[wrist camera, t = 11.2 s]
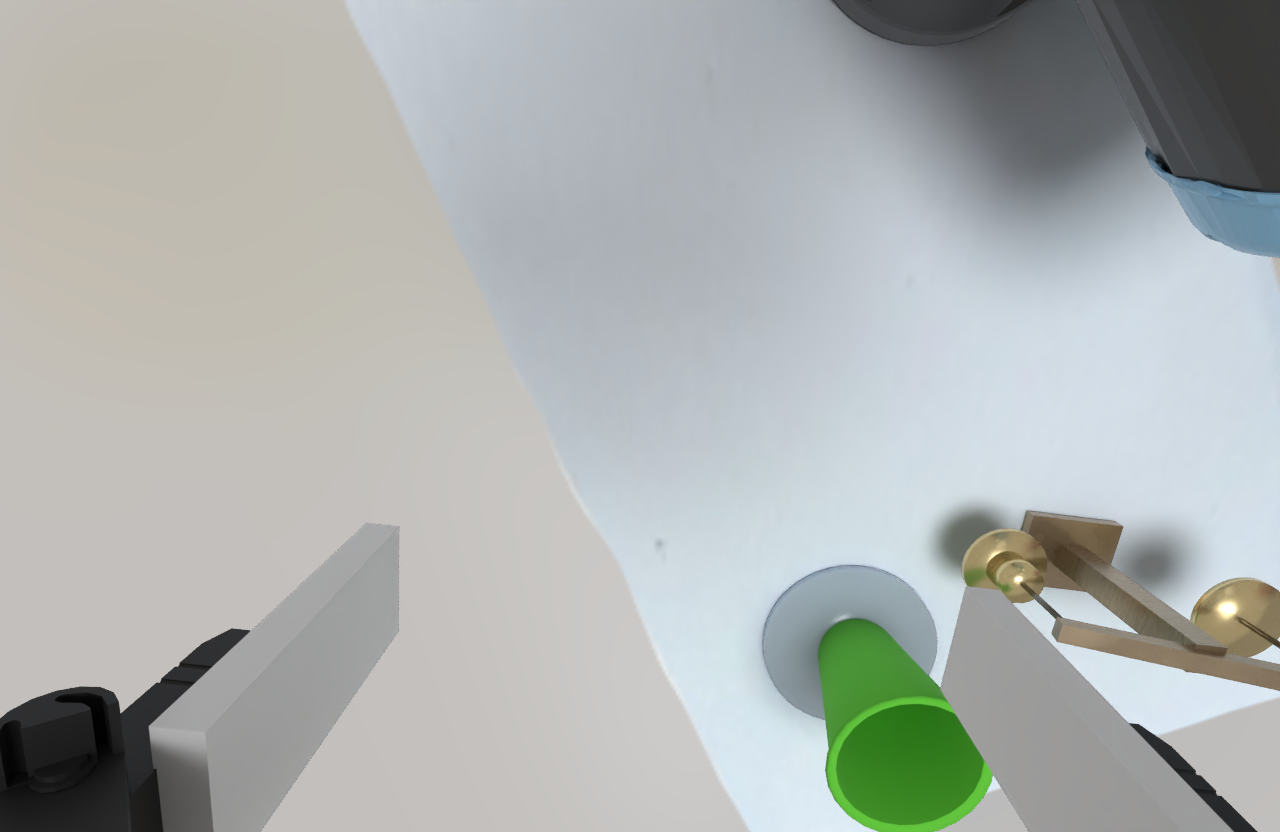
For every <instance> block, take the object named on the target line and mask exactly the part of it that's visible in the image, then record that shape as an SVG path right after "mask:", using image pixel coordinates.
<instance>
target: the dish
mask: <svg viewBox="0 0 1280 832" xmlns="http://www.w3.org/2000/svg"><path fill="white" fill-rule="evenodd" d="M849 619H862V620H867V621H870V622H872V623H875V624H877V625H879V626H880V627H882V628H883V629H885V630H886V631H887V633H888V634H889V635H890V636H891V637H892V638H893V639H894V640H895V641H896V642H897V643H898V644H899V645H900V646H901V647H902V648H903V649H904V650H905V651H906V652H907V654H908V655H909V656H910V657H911V658H912V659H913V660H914V661H915V662H916V663H917V664H918V665H919V666H920V667H921V668H922V669H923V670H924V671H925V672H926V673H927V675H928V676H929V674H930V672H931V670H932V667H933V665H934V662H935V658H936V652H937V633H936V628H935V624H934V621H933V619H932V616H931V614H930V612H929V610H928V609H927V607H926V606H925V604H924V603H923V601H922V600H921V599H920V597H919V596H918V595H917V594H916V593H915V591H914V590H913V589H912V588H911V587H910V586H908V585H907V584H906V583H905V582H904V581H902V580H900V579H899V578H897V577H896V576H894V575H892V574H890V573H888V572H885V571H882V570H879V569H876V568H871V567H866V566H855V565H850V566H838V567H832V568H828V569H825V570H821V571H818V572H816V573H813V574H811V575H809V576H807V577H805V578H804V579H802V580H800V581H798V582H797V583H796V584H794V585H793V586H792V587H790V588H789V589H788V590H787V591H786V592H785V593H784V594H783V595H782V596H781V598H780V599H779V600H778V601H777V603H776V604H775V606H774V607H773V609H772V611H771V612H770V615H769V617H768V619H767V622H766V625H765V629H764V635H763V652H764V657H765V662H766V666H767V669H768V672H769V675H770V678H771V680H772V681H773V683H774V685H775V687H776V688H777V690H778V691H779V692H780V694H781V695H782V696H783V697H784V698H785V699H786V700H787V701H788V702H790V703H791V704H792V705H793V706H795V707H796V708H798V709H799V710H801V711H803V712H805V713H807V714H809V715H811V716H814V717H817V718H820V719H823V720H825V712H824V704H823V696H822V687H821V679H820V670H819V662H818V649H819V646H820V643H821V641H822V638H823V636H824V635H825V634H826V632H827V631H828V630H829V629H830V628H831V627H833V626H834V625H836V624H838V623H840V622H842V621H845V620H849Z"/></svg>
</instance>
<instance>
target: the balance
mask: <svg viewBox="0 0 1280 832" xmlns="http://www.w3.org/2000/svg"><path fill="white" fill-rule="evenodd" d="M1122 529H1123V526H1122V525H1120V524H1119V523H1117V522H1115V521H1107V520H1099V519H1091V518H1083V517H1075V516H1066V515H1058V514H1050V513H1042V512H1034V511H1027V513H1026V517H1025V520H1024V523H1023V527H1022V530H1017V529H1011V528H1002V529H996V530H993V531H990V532H988V533H985V534H984V535H982V536H980V537H979V538H977V539H976V540H975V541H974V542H973V543H972V544H971V545H970V546H969V548H968V549H967V551H966V553H965V555H964V557H963V560H962V568H961V570H962V577H963V580H964V582H965V584H966V586H968V587H977V588H986V589H996V590H1000V591H1001V592H1002V593H1003V594H1004V595H1005V596H1006V597H1007V598H1008V599H1009V601H1010V602H1011V603H1025V602H1029V601H1031V600H1033V599H1035V600H1036V601H1037V602H1038V603H1039V604H1040V605H1042V606H1043V607H1044V608H1045V609H1046V610H1047V611H1048V612H1049V613H1050V614H1051V615H1052V616H1053V617H1054V618H1055V619H1056V621H1055V624H1054V627H1053V630H1052V635H1053V636H1054V638H1055V639H1056V641H1057V642H1061V643H1065V644H1070V645H1074V646H1079V647H1083V648H1088V649H1092V650H1097V651H1101V652H1106V653H1111V654H1115V655H1120V656H1124V657H1129V658H1133V659H1138V660H1142V661H1147V662H1151V663H1156V664H1160V665H1165V666H1170V667H1174V668H1179V669H1183V670H1184V671H1186V672H1192V673H1200V674H1206V675H1210V676H1215V677H1219V678H1224V679H1228V680H1233V681H1238V682H1242V683H1247V684H1251V685H1256V686H1260V687H1265V688H1269V689H1274V690H1278V691H1280V664H1276V663H1271V662H1266V661H1262V660H1257V659H1252V658H1248V657H1251V656H1254V655H1257V654H1259V653H1261V652H1262V651H1264V650H1266V649H1267V648H1269V647H1270V646H1271V645H1272V644H1273V645H1275V646H1276V647H1278V648H1280V642H1279V641H1278V640H1277V639H1278V638H1279V637H1280V592H1279V591H1278V590H1277V589H1275V588H1274V587H1272V586H1270V585H1268V584H1267V583H1265V582H1263V581H1261V580H1258V579H1254V578H1245V577H1244V578H1234V579H1230V580H1226V581H1224V582H1221V583H1219V584H1217V585H1215V586H1214V587H1212V588H1211V589H1209V590H1208V591H1207V592H1206V593H1204V594H1203V596H1202V597H1201V598H1200V599H1199V600H1198V601H1197V603H1196V605H1195V606H1194V609H1193V611H1192V614H1191V619H1190V621H1189V620H1188V619H1186V618H1185V617H1183V616H1182V615H1181V614H1179V613H1178V612H1176V611H1175V610H1174V609H1172V608H1171V607H1169V606H1168V605H1166V604H1165V603H1164V602H1162V601H1161V600H1159V599H1158V598H1157V597H1155V596H1154V595H1152V594H1151V593H1149V592H1148V591H1147V590H1145V589H1144V588H1142V587H1141V586H1140V585H1138V584H1137V583H1135V582H1134V581H1132V580H1131V579H1130V578H1128V577H1127V576H1125V575H1124V574H1123V573H1121V572H1120V571H1118V570H1117V569H1115V568H1114V567H1113V566H1111V562H1112V559H1113V556H1114V553H1115V550H1116V547H1117V544H1118V541H1119V538H1120V535H1121V532H1122ZM1043 587H1051V588H1060V589H1068V590H1076V591H1084V592H1088V593H1089V594H1090V595H1091V596H1093V597H1094V598H1095V599H1096V600H1098V601H1099V602H1100V603H1101V604H1103V605H1104V606H1105V607H1106V608H1108V609H1109V610H1110V611H1111V612H1112V613H1114V614H1115V615H1116V616H1117V617H1119V618H1120V619H1121V620H1122V621H1124V622H1125V623H1126V624H1127V625H1129V626H1130V627H1131V628H1132V629H1134V630H1135V631H1136V632H1137V633H1138V634H1135V633H1131V632H1126V631H1121V630H1116V629H1112V628H1107V627H1102V626H1098V625H1093V624H1088V623H1084V622H1079V621H1074V620H1070V619H1065V618H1063V617H1062V616H1060V615H1059V614H1058V613H1057V612H1056V611H1055V610H1054V609H1053V608H1052V607H1051V606H1050V605H1048V604H1047V603H1046V602H1045V601H1044V600H1043V599H1042V598H1041V597H1040V596H1039V594H1040V593H1041V591H1042V590H1043Z"/></svg>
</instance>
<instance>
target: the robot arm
mask: <svg viewBox="0 0 1280 832" xmlns="http://www.w3.org/2000/svg"><path fill="white" fill-rule="evenodd" d="M834 1H835V3H836V4H837V5H838V6H839V7H840V8H841V9H842V10H843V11H844V12H845V13H846V14H847V15H848V16H849V17H850V18H851V19H853V20H854V21H855V22H856V23H858V24H859V25H861V26H862V27H864V28H865V29H867V30H869V31H871V32H872V33H874V34H877V35H879V36H881V37H883V38H886V39H889V40H892V41H896V42H900V43H905V44H911V45H942V44H948V43H953V42H957V41H961V40H965V39H968V38H971V37H973V36H976V35H978V34H981V33H983V32H985V31H987V30H989V29H991V28H993V27H994V26H996V25H998V24H999V23H1001V22H1003V21H1004V20H1005V19H1007V18H1008V17H1010V16H1011V15H1013V14H1014V13H1016V12H1017V11H1019V10H1020V9H1022V8H1023V7H1025V6H1026V5H1028V4H1029V3H1030V2H1031V1H1033V0H834ZM1075 1H1076V3H1077V5H1078V7H1079V9H1080V11H1081V13H1082V15H1083V17H1084V19H1085V21H1086V23H1087V25H1088V27H1089V29H1090V31H1091V33H1092V35H1093V37H1094V39H1095V41H1096V43H1097V45H1098V47H1099V49H1100V51H1101V53H1102V56H1103V58H1104V60H1105V62H1106V64H1107V66H1108V68H1109V70H1110V72H1111V74H1112V76H1113V78H1114V80H1115V82H1116V84H1117V86H1118V88H1119V90H1120V92H1121V94H1122V96H1123V98H1124V100H1125V102H1126V104H1127V106H1128V108H1129V110H1130V112H1131V114H1132V116H1133V119H1134V121H1135V123H1136V125H1137V127H1138V129H1139V131H1140V133H1141V135H1142V137H1143V139H1144V141H1145V143H1146V145H1147V147H1146V152H1145V154H1146V157H1147V159H1148V161H1149V163H1150V166H1151V167H1152V168H1153V170H1154V171H1155V172H1156V173H1157V174H1158V175H1159V176H1161V177H1162V178H1163V179H1165V180H1166V181H1167V182H1168V183H1169V185H1170V187H1171V188H1172V190H1173V192H1174V194H1175V195H1176V197H1177V199H1178V201H1179V202H1180V204H1181V206H1182V208H1183V209H1184V211H1185V213H1186V215H1187V216H1188V218H1189V220H1190V221H1191V222H1192V224H1193V225H1194V226H1195V227H1196V228H1197V229H1198V230H1199V231H1200V232H1201V233H1202V234H1203V235H1204V236H1206V237H1208V238H1209V239H1212V240H1215V241H1218V242H1222V243H1223V244H1224V245H1226V246H1229V247H1231V248H1233V249H1234V250H1237V251H1240V252H1244V253H1249V254H1254V255H1260V256H1268V257H1276V258H1280V0H1075ZM398 631H399V526H391V525H382V524H373V523H366V524H365V525H364V526H363V527H362V528H360V529H359V530H358V532H356V533H355V534H354V535H353V536H352V537H351V538H350V539H349V540H348V541H347V542H345V543H344V544H343V545H342V546H341V547H340V548H339V549H338V550H337V551H336V552H335V553H334V554H333V555H332V556H330V557H329V558H328V560H326V561H325V562H324V563H323V564H322V565H321V566H320V567H319V568H318V569H317V570H315V572H314V573H312V574H311V575H310V576H309V577H308V578H307V579H306V580H305V581H304V582H303V583H302V584H301V585H299V586H298V587H297V588H296V589H295V590H294V591H293V592H292V593H291V594H290V595H289V596H288V597H287V598H286V599H284V601H282V602H281V603H280V604H279V605H278V606H277V607H276V608H275V609H274V610H273V611H272V612H271V613H270V614H268V615H267V616H266V617H265V618H264V619H263V620H262V621H261V622H260V623H259V624H258V625H257V626H256V627H255V628H254V629H252V630H251V631H250V630H241V629H230V630H228V631H226V632H224V633H222V634H220V635H218V636H216V637H214V638H212V639H211V640H208V641H206V642H204V643H202V644H201V645H200V646H199V647H197V648H196V649H195V650H194V651H193V652H192V653H190V654H189V655H188V656H187V657H186V658H185V659H184V660H183V661H181V662H180V665H179V666H178V667H174V668H173V669H172V670H171V671H170V672H168V674H166V675H165V676H164V677H163V678H162V679H161V682H160V683H156V684H155V685H153V686H152V687H151V688H150V689H149V690H148V691H146V692H145V693H144V694H143V695H142V696H141V697H140V698H138V699H137V700H136V701H135V702H134V703H133V704H131V705H130V706H129V707H128V708H127V709H126V710H124V711H123V712H122V713H121V714H120V708H119V701H118V699H117V698H116V696H115V694H114V693H113V692H111V691H109V690H106V689H104V688H101V687H76V688H70V689H64V690H59V691H55V692H52V693H49V694H46V695H43V696H40V697H37V698H34V699H31V700H29V701H28V702H26V703H24V704H22V705H20V706H18V707H16V708H14V709H12V710H10V711H9V712H7V713H6V714H5V715H4V716H3V717H2V718H0V832H261V831H262V829H263V828H264V826H265V825H266V824H267V822H268V821H269V819H270V818H271V816H272V815H273V813H274V812H275V810H276V809H277V807H278V806H279V805H280V803H281V802H282V800H283V799H284V797H285V796H286V794H287V793H288V791H289V790H290V789H291V787H292V785H293V784H294V783H295V781H296V780H297V778H298V777H299V775H300V774H301V772H302V771H303V770H304V768H305V766H306V765H307V764H308V762H309V761H310V759H311V758H312V756H313V755H314V754H315V752H316V751H317V749H318V748H319V746H320V745H321V743H322V742H323V740H324V739H325V737H326V736H327V735H328V733H329V732H330V730H331V729H332V727H333V726H334V725H335V723H336V722H337V720H338V719H339V717H340V715H341V714H342V713H343V711H344V710H345V709H346V707H347V706H348V704H349V703H350V701H351V700H352V698H353V697H354V695H355V694H356V693H357V691H358V690H359V688H360V687H361V685H362V684H363V682H364V681H365V679H366V678H367V676H368V675H369V673H370V672H371V670H372V669H373V667H374V666H375V665H376V663H377V662H378V660H379V659H380V658H381V656H382V655H383V653H384V652H385V650H386V649H387V647H388V646H389V644H390V643H391V642H392V640H393V639H394V637H395V636H396V634H397V633H398ZM940 690H941V691H942V693H943V695H944V696H945V698H946V699H947V701H948V703H949V704H950V706H951V707H952V709H953V711H954V712H955V714H956V716H957V717H958V719H959V720H960V722H961V724H962V725H963V727H964V728H965V730H966V732H967V733H968V735H969V736H970V738H971V740H972V741H973V743H974V745H975V746H976V748H977V749H978V751H979V753H980V754H981V756H982V757H983V759H984V761H985V762H986V764H987V765H988V767H989V769H990V770H991V772H992V774H993V775H994V777H995V778H996V780H997V782H998V783H999V785H1000V786H1001V788H1002V790H1003V791H1004V793H1005V794H1006V796H1007V798H1008V799H1009V801H1010V802H1011V804H1012V806H1013V807H1014V809H1015V811H1016V812H1017V814H1018V815H1019V817H1020V819H1021V820H1022V822H1023V823H1024V825H1025V827H1026V828H1027V830H1028V831H1029V832H1257V831H1256V830H1255V829H1254V828H1253V827H1252V826H1251V825H1250V824H1249V823H1248V822H1247V821H1246V820H1245V819H1244V818H1243V817H1242V816H1241V815H1240V814H1239V813H1238V812H1237V811H1236V810H1235V809H1234V808H1233V807H1232V806H1231V805H1230V804H1229V803H1228V802H1227V801H1226V800H1224V798H1223V797H1222V796H1217V794H1216V790H1214V788H1213V787H1212V786H1211V785H1210V784H1209V783H1208V782H1207V781H1206V780H1205V779H1204V778H1203V777H1202V776H1200V775H1196V773H1195V772H1196V771H1195V769H1193V768H1192V767H1191V766H1190V765H1189V764H1188V763H1187V762H1186V761H1185V760H1184V759H1183V758H1182V757H1181V756H1180V755H1179V754H1178V753H1177V752H1176V751H1175V750H1174V749H1173V748H1172V747H1171V746H1170V745H1168V744H1167V743H1165V742H1164V741H1163V740H1161V739H1160V738H1158V737H1157V736H1155V735H1154V734H1152V733H1151V732H1149V731H1148V730H1146V729H1145V728H1143V727H1142V726H1141V725H1139V724H1132V723H1128V722H1127V721H1126V720H1125V719H1124V718H1123V717H1122V716H1121V715H1120V714H1119V713H1118V712H1117V711H1116V710H1115V709H1114V708H1113V707H1112V706H1111V705H1110V704H1109V703H1108V702H1107V700H1106V699H1105V698H1104V697H1103V696H1102V695H1101V694H1100V693H1099V692H1098V691H1097V690H1096V689H1095V688H1094V687H1093V686H1092V685H1091V684H1090V683H1089V682H1088V681H1087V680H1086V679H1085V678H1084V677H1083V676H1082V675H1081V674H1080V673H1079V672H1078V671H1077V670H1076V669H1075V668H1074V666H1073V665H1072V664H1071V663H1070V662H1069V661H1068V660H1067V659H1066V658H1065V657H1064V656H1063V655H1062V654H1061V653H1060V652H1059V651H1058V650H1057V649H1056V648H1055V647H1054V646H1053V645H1052V644H1051V643H1050V642H1049V641H1048V640H1047V639H1046V638H1045V637H1044V636H1043V635H1042V633H1041V632H1040V631H1039V630H1038V629H1037V628H1036V627H1035V626H1034V625H1033V624H1032V623H1031V622H1030V621H1029V620H1028V619H1027V618H1026V617H1025V616H1024V615H1023V614H1022V613H1021V612H1020V611H1019V610H1018V609H1017V608H1016V607H1015V606H1014V605H1013V604H1012V603H1011V602H1010V601H1009V599H1008V598H1007V597H1006V596H1005V595H1004V594H1003V593H1002V592H1001V591H1000V590H996V589H986V588H977V587H968V586H966V588H965V592H964V596H963V599H962V603H961V607H960V611H959V615H958V619H957V623H956V627H955V631H954V635H953V639H952V643H951V647H950V651H949V655H948V659H947V663H946V667H945V671H944V675H943V679H942V683H941V687H940Z"/></svg>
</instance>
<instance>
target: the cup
mask: <svg viewBox="0 0 1280 832" xmlns="http://www.w3.org/2000/svg"><path fill="white" fill-rule="evenodd" d="M818 662H819V670H820V679H821V687H822V696H823V704H824V712H825V721H826V729H827V738H828V746H829V751H828V753H827V761H826V769H825V771H826V777H827V782H828V787H829V789H830V791H831V793H832V795H833V797H834V799H835V801H836V802H837V803H838V804H839V806H840V807H841V808H842V809H843V810H844V811H845V812H846V813H847V814H848V815H849V816H850V817H852V818H853V819H855V820H856V821H858V822H859V823H861V824H862V825H864V826H865V827H868V828H871V829H873V830H876V831H879V832H934V831H938V830H940V829H943V828H945V827H947V826H949V825H952V824H954V823H956V822H957V821H959V820H960V819H962V818H963V817H964V816H966V815H967V814H968V813H970V812H971V811H972V810H973V809H974V808H975V807H976V805H977V804H978V803H979V802H980V801H981V799H983V798H984V796H985V794H986V792H987V790H988V788H989V786H990V784H991V781H992V776H993V774H992V772H991V770H990V769H989V767H988V765H987V764H986V762H985V761H984V759H983V757H982V756H981V754H980V753H979V751H978V749H977V748H976V746H975V745H974V743H973V741H972V740H971V738H970V736H969V735H968V733H967V732H966V730H965V728H964V727H963V725H962V724H961V722H960V720H959V719H958V717H957V716H956V714H955V712H954V711H953V709H952V707H951V706H950V704H949V703H948V701H947V699H946V698H945V696H944V695H943V693H942V691H941V690H940V687H939V686H938V685H937V684H936V683H935V682H934V681H933V680H932V679H931V678H930V677H929V676H928V675H927V673H926V672H925V671H924V670H923V669H922V668H921V667H920V666H919V665H918V664H917V663H916V662H915V661H914V660H913V659H912V658H911V657H910V656H909V655H908V654H907V652H906V651H905V650H904V649H903V648H902V647H901V646H900V645H899V644H898V643H897V642H896V641H895V640H894V639H893V638H892V637H891V636H890V635H889V634H888V633H887V631H886V630H885V629H883V628H882V627H880V626H879V625H877V624H875V623H872V622H870V621H867V620H862V619H849V620H845V621H842V622H840V623H838V624H836V625H834V626H833V627H831V628H830V629H829V630H828V631H827V632H826V634H825V635H824V636H823V638H822V641H821V643H820V646H819V649H818Z"/></svg>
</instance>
